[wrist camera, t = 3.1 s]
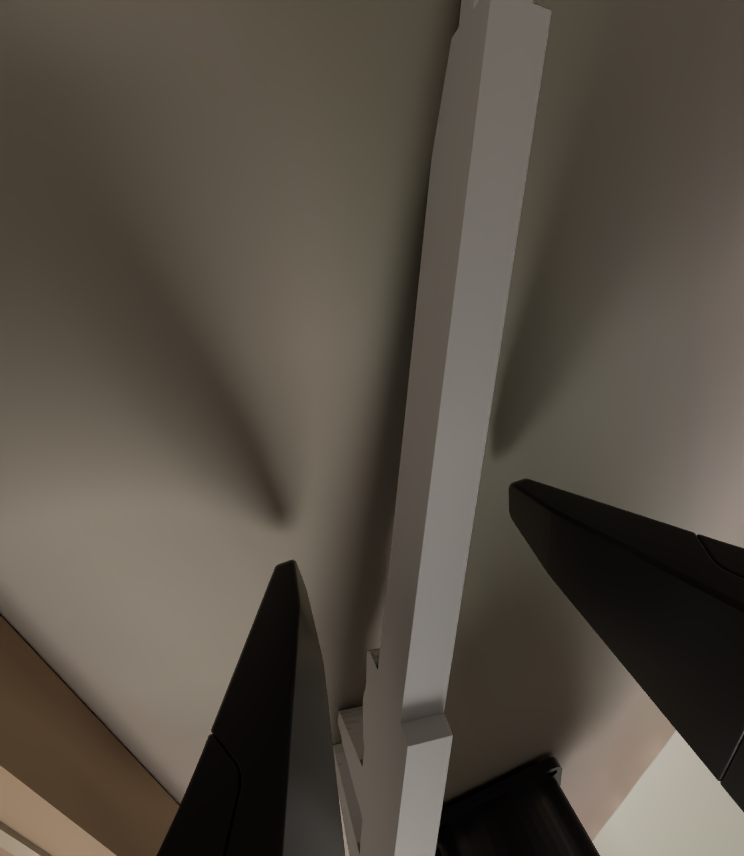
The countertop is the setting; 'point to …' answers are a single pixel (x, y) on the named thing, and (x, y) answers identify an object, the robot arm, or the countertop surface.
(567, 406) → the countertop surface
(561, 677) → the countertop surface
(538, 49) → the caliper
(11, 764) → the walnut board
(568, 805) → the robot arm
